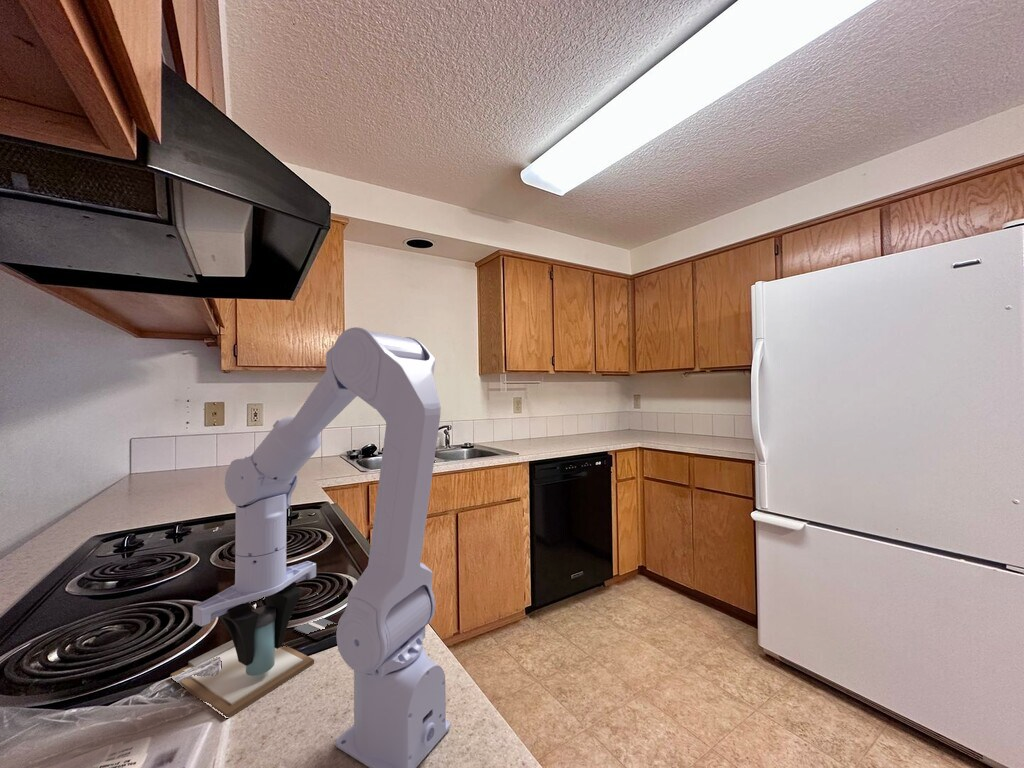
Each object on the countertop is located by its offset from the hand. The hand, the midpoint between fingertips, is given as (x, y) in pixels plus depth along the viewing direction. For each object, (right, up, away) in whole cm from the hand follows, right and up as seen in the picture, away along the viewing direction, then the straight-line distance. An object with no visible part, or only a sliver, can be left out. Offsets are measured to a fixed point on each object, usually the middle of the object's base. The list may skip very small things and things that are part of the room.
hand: (260, 653), depth 53 cm
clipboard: (-3, -4, +2) cm, 5 cm away
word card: (+2, -4, +11) cm, 12 cm away
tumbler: (0, -2, 0) cm, 2 cm away
